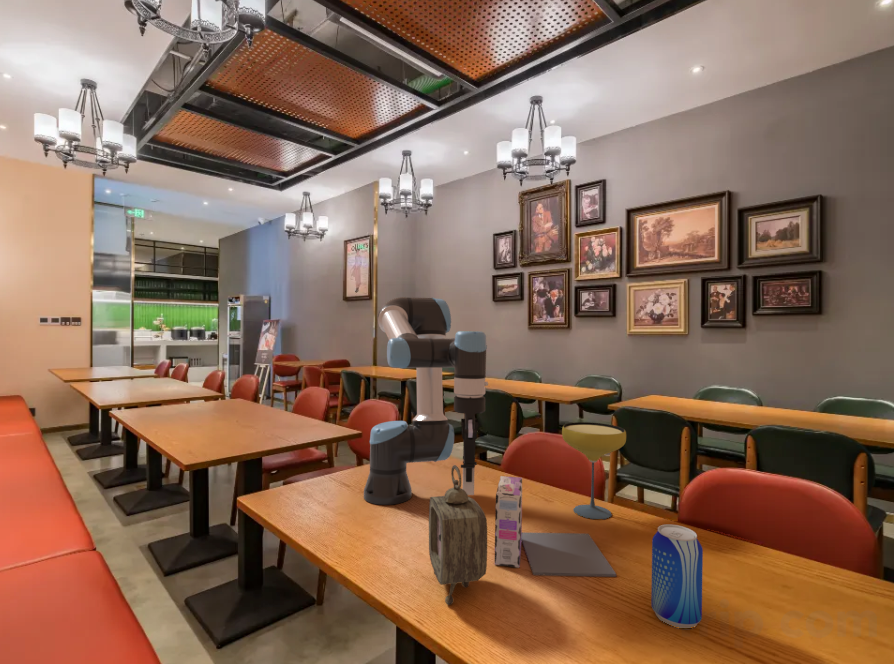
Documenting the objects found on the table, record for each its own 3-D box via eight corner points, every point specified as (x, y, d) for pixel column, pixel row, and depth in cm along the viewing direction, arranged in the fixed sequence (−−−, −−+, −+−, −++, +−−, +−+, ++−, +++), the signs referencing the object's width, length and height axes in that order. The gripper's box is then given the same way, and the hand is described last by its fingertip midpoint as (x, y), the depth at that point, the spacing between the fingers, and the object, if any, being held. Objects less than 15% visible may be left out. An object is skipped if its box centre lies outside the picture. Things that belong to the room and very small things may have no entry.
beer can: (642, 604, 89) (643, 522, 89) (683, 603, 90) (684, 521, 90) (667, 633, 81) (668, 542, 81) (712, 631, 81) (713, 541, 81)
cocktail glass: (634, 512, 136) (636, 428, 136) (609, 531, 122) (610, 437, 122) (578, 496, 148) (579, 419, 148) (549, 512, 135) (550, 427, 135)
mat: (519, 534, 119) (519, 532, 119) (588, 535, 119) (588, 533, 119) (533, 575, 99) (533, 572, 99) (616, 576, 99) (616, 574, 99)
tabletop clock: (428, 572, 100) (429, 457, 100) (467, 568, 102) (469, 456, 102) (442, 611, 86) (444, 478, 86) (488, 606, 88) (490, 476, 88)
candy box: (520, 568, 102) (521, 495, 102) (493, 565, 103) (494, 492, 103) (522, 541, 116) (523, 476, 116) (498, 539, 117) (499, 474, 117)
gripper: (487, 399, 103) (486, 504, 103) (483, 392, 116) (482, 485, 116) (454, 398, 103) (452, 503, 103) (453, 391, 116) (452, 484, 116)
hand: (468, 493), depth 109 cm, fingers closed
